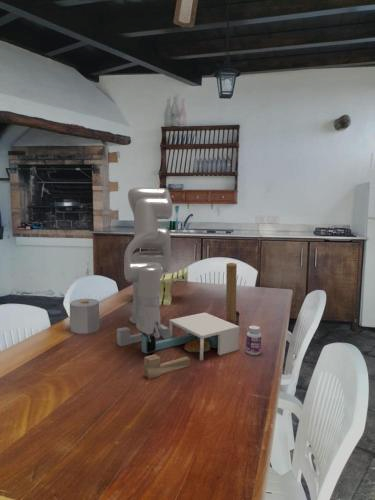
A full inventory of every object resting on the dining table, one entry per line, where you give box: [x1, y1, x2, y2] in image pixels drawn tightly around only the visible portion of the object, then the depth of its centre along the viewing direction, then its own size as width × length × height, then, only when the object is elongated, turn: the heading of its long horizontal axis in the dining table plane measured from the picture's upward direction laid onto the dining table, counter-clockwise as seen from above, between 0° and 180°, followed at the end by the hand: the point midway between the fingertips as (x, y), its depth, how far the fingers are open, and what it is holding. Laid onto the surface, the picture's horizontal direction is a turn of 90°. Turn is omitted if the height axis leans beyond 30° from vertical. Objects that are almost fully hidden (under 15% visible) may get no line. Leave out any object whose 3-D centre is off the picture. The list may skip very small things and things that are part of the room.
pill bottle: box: [245, 325, 262, 356], centre depth 139 cm, size 5×5×10 cm
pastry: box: [183, 338, 211, 353], centre depth 141 cm, size 9×7×4 cm
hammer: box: [225, 262, 240, 326], centre depth 160 cm, size 20×5×30 cm, turn 164°
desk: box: [168, 312, 240, 361], centre depth 144 cm, size 20×18×9 cm
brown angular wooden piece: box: [143, 353, 191, 380], centre depth 123 cm, size 3×16×6 cm, turn 126°
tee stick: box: [116, 323, 170, 347], centre depth 149 cm, size 8×20×6 cm, turn 126°
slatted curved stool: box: [159, 267, 189, 306], centre depth 205 cm, size 30×16×18 cm, turn 89°
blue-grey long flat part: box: [141, 333, 218, 354], centre depth 140 cm, size 12×26×6 cm, turn 126°
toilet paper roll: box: [69, 298, 101, 335], centre depth 160 cm, size 12×12×12 cm
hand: (148, 349), depth 138 cm, fingers closed on blue-grey long flat part, 3 cm apart
